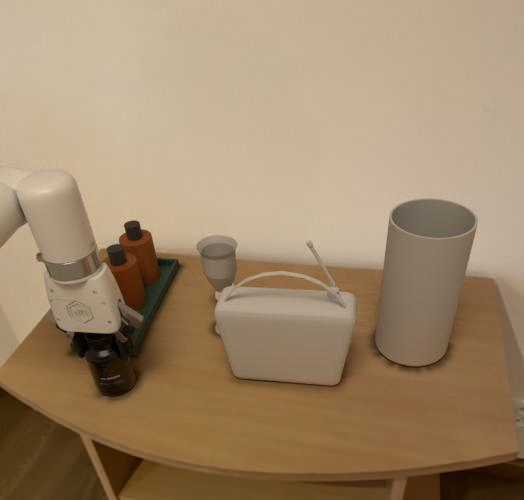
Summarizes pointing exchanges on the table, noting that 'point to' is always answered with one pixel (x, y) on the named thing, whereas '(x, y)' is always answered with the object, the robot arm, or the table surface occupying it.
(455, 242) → the cylinder vase
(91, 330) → the robot arm
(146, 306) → the tray
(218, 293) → the lidless jar
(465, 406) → the table surface
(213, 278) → the chalice
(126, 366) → the supplement bottle
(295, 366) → the radio
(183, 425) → the table surface
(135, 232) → the amber bottle far
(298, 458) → the table surface
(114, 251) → the amber bottle middle
